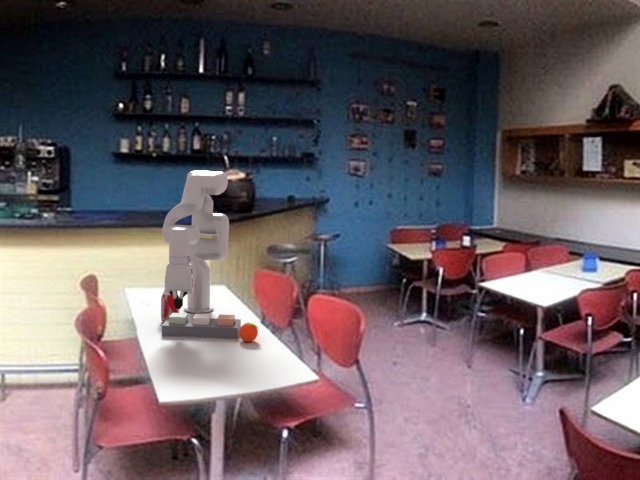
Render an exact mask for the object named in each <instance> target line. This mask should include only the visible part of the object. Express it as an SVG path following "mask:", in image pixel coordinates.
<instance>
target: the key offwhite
mask: <svg viewBox="0 0 640 480" xmlns="http://www.w3.org/2000/svg"><path fill="white" fill-rule="evenodd" d="M192 318H193V324H194V325H210V323H211V318H212V313H210V314H209V313H194V316H193V317H192Z"/></svg>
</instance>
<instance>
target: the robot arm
mask: <svg viewBox="0 0 640 480" xmlns="http://www.w3.org/2000/svg"><path fill="white" fill-rule="evenodd" d="M228 184H229V177H228V176H227V173H225V172H223V171H212V170H211V171H210V170H191V171H189V172H188V173H187V176H186V180H185V184H184V188H183V192H182V196H181V201H180V203H177V205H175V206H174V207H173V208H172V209H171V210H169V212H168V213H167V214H166V217H165V218H164V221H163V226H162V231H161V238H162V241H163V242H164V243H165V244H168V263H167V264H166V268H165V275H164V291H163V292H165V293H168V294H171V295H172V296H173V298H174V306H176V309H179V310H181V309H182V307H183V310H184V311H185V313H192V314H207V313H210V312H212V311H213V310H214V306H212V304H210V300H211V268H210V266H209V264H208V263H207V261H218V262H219V261H220V262H221V261H225V260H226V258H227V255H228V250H229V248H228V247H229V234H230V221H229V217H228V216H227V215H226V214H225V213H220V212H219V213H217V212H215V213H214V212H213V211H214V201H213V199H212V197H211V196H213V195H214V196H218V195H221V194H223V193H224V192H225V191H226V190H227V189H228ZM210 195H211V196H210ZM189 216H191V225H188V224H187V225H186V224H176V223H177V222H178V221H179V220H182V219H185V218H187V217H189ZM201 235H203V236H204V235H205V236H215V237H216V238H215V237H214V238H213V237H201ZM178 291H179V292H180V293H179V294H178ZM178 296H179V297H178ZM186 296H187V297H186ZM184 297H186V298H187V299H186V300H187V304H186V305H184ZM183 305H184V306H183Z"/></svg>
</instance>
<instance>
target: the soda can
mask: <svg viewBox="0 0 640 480" xmlns="http://www.w3.org/2000/svg"><path fill="white" fill-rule="evenodd" d="M178 297H180V295H178ZM172 313H180V309H176V306H174V298H173V296H172V295H171V294H168V293H165V292H164V291H163V292H162V295H161V299H160V318H161V321H162V323H164V322H165V321H166V320H167V318H168V317H169V316H170V315H171V314H172Z"/></svg>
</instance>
